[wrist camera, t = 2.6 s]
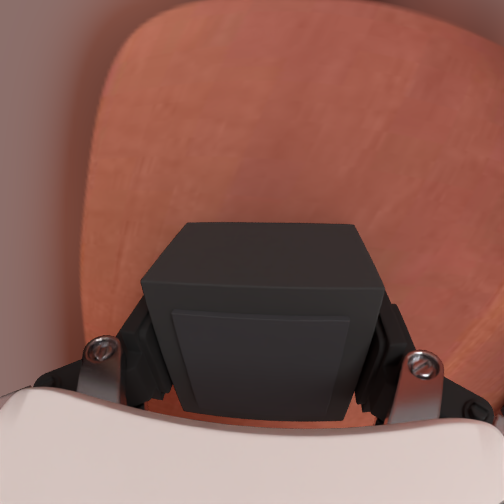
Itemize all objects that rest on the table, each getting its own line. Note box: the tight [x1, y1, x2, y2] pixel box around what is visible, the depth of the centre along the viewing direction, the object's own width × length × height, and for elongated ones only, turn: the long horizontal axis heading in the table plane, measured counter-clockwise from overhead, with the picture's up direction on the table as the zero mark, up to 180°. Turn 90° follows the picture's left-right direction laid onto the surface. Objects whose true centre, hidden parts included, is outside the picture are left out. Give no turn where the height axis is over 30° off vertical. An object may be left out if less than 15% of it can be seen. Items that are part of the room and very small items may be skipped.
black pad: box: [141, 222, 385, 421], centre depth 10 cm, size 6×6×4 cm
